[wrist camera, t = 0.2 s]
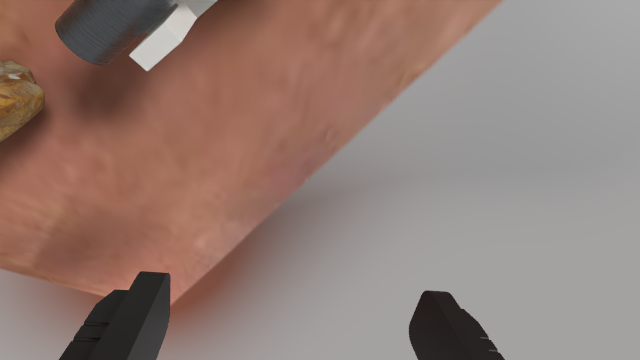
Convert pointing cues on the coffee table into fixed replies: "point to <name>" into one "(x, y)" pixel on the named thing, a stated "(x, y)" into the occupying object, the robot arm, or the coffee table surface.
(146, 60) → the rack
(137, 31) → the rail
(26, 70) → the rough brown rock
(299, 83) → the coffee table surface
